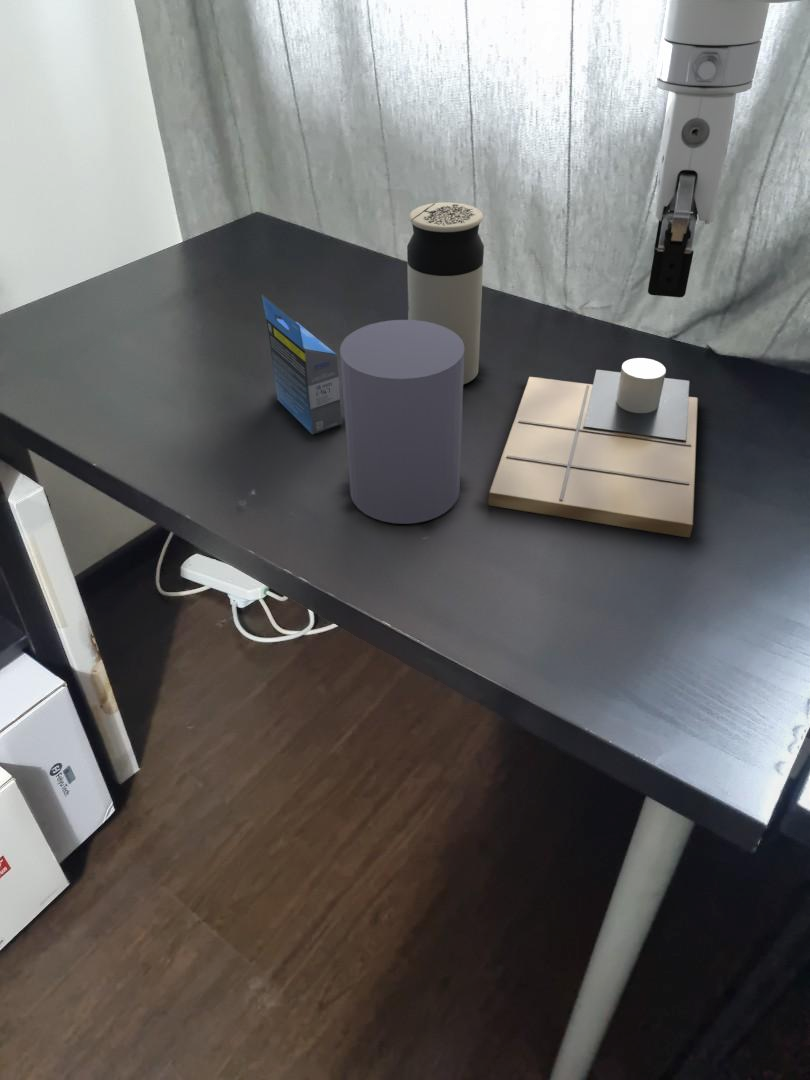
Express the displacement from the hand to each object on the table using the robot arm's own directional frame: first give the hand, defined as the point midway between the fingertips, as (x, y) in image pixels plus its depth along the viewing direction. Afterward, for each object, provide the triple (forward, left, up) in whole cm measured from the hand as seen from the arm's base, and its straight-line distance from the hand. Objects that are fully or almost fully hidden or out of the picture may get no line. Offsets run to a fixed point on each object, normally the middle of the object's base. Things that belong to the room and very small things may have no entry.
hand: (668, 274), depth 77 cm
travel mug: (+22, -4, -16) cm, 28 cm away
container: (+20, +19, -16) cm, 32 cm away
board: (+3, +6, -16) cm, 17 cm away
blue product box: (+34, +8, -16) cm, 39 cm away
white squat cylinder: (+1, -1, -14) cm, 14 cm away
